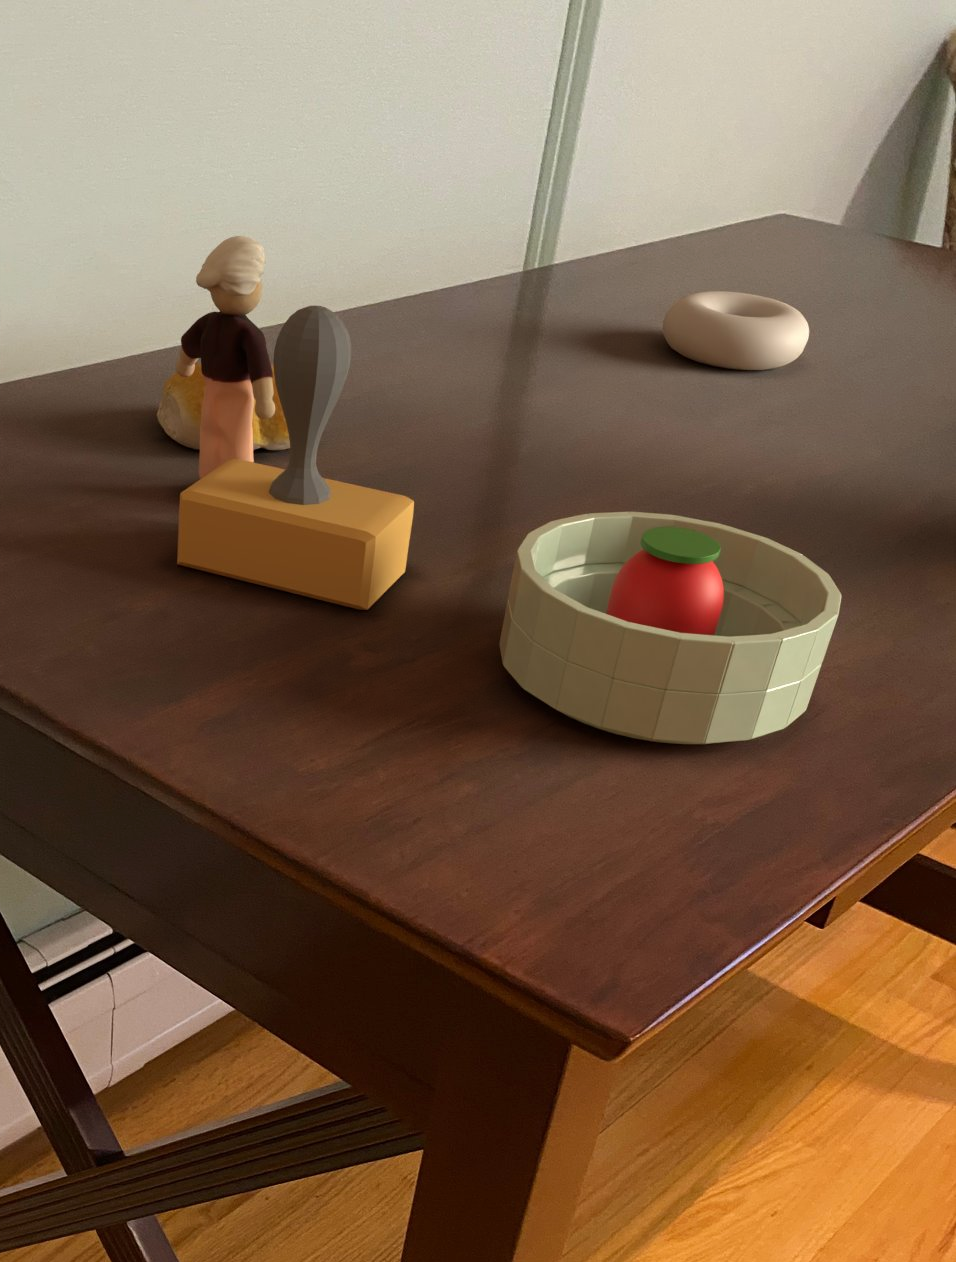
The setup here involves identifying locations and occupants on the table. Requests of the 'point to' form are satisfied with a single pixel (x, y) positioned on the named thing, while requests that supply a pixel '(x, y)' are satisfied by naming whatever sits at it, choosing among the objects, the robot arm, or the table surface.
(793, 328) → the donut
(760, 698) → the bowl
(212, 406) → the grandmother figurine
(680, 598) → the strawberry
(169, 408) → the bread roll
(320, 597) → the rubber stamp
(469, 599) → the table surface
